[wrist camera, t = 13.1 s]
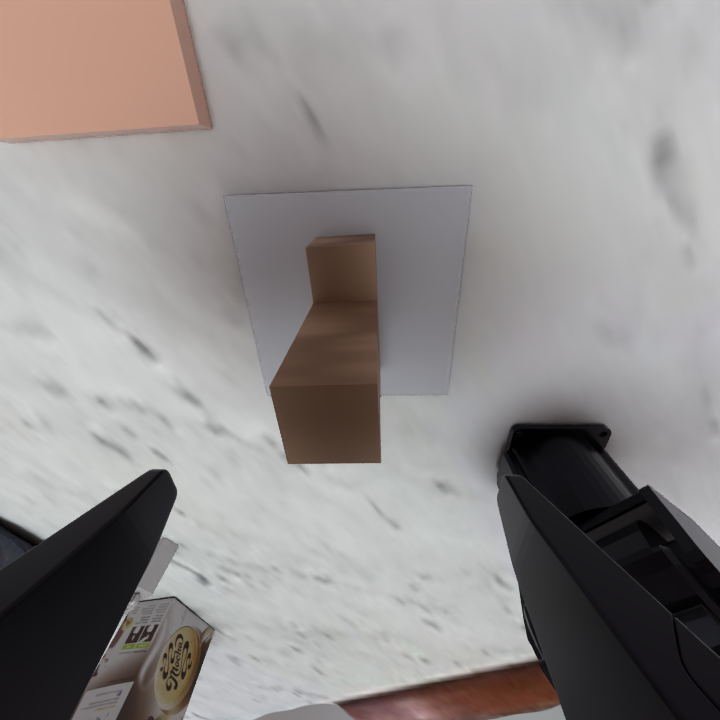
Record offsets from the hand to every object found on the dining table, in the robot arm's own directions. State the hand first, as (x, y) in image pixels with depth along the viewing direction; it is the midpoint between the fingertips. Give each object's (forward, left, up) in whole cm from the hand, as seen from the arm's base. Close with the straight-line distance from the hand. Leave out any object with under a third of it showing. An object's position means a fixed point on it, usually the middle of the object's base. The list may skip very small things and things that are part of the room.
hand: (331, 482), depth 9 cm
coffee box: (+24, +39, -12) cm, 48 cm away
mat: (0, -1, -12) cm, 12 cm away
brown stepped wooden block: (0, -1, -11) cm, 11 cm away
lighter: (+22, +25, -12) cm, 36 cm away
